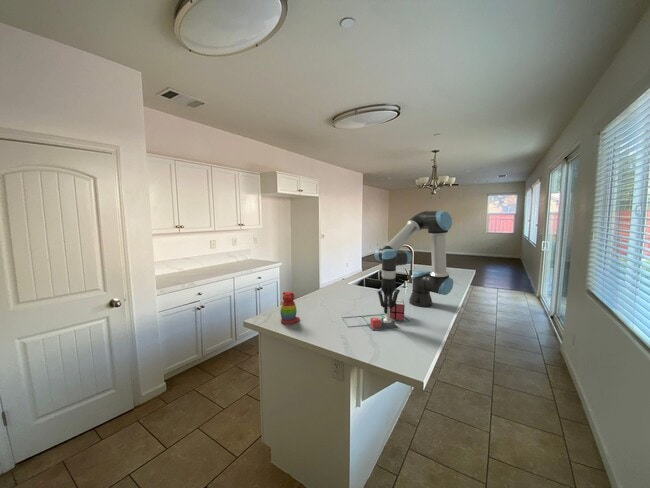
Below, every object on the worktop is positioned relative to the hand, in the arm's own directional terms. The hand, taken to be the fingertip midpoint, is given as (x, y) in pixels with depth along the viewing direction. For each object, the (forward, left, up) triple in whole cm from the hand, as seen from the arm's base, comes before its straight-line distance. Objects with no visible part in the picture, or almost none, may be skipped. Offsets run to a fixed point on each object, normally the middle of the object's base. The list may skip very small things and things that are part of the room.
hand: (387, 318), depth 148 cm
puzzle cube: (-10, -10, -4) cm, 15 cm away
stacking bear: (+53, -18, -5) cm, 57 cm away
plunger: (0, 0, -3) cm, 3 cm away
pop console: (+3, 0, -4) cm, 5 cm away
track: (+3, -10, -4) cm, 11 cm away
